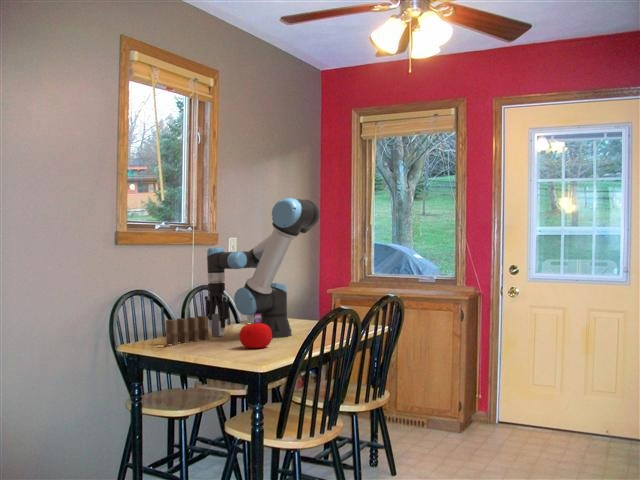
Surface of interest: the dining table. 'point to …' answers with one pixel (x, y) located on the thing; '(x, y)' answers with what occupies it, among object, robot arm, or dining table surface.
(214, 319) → the domino
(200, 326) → the domino
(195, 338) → the domino
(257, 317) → the candy bar box
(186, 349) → the dining table surface
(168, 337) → the domino
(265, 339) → the tomato
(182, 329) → the domino
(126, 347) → the dining table surface
